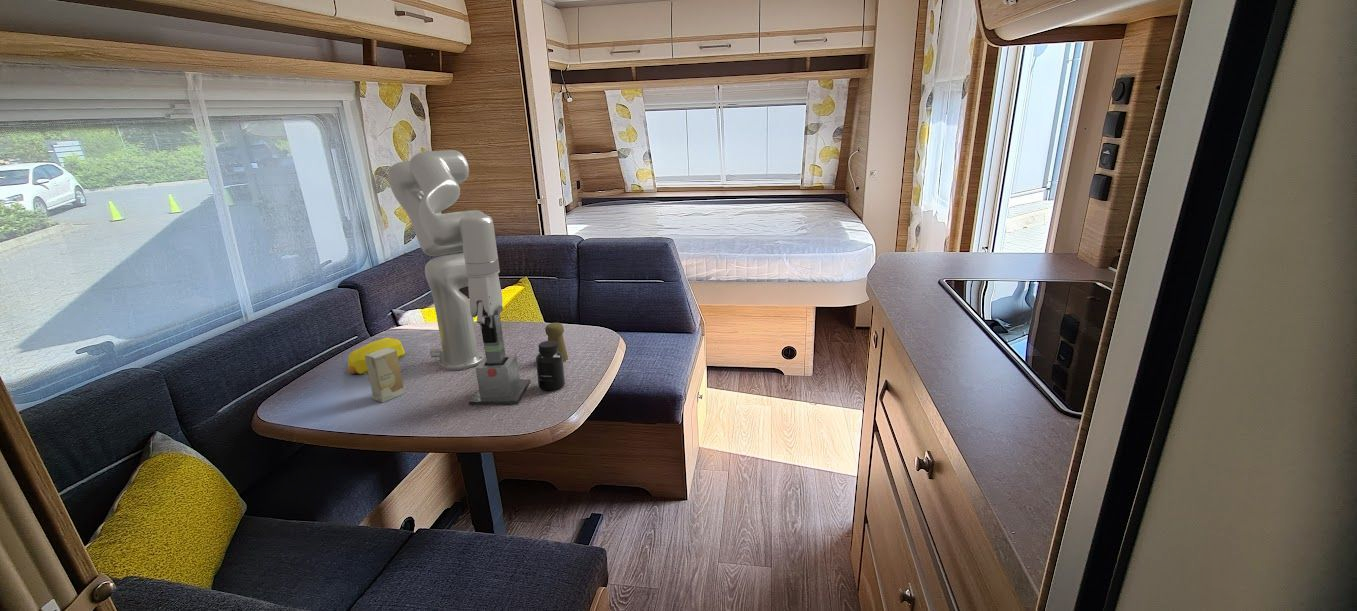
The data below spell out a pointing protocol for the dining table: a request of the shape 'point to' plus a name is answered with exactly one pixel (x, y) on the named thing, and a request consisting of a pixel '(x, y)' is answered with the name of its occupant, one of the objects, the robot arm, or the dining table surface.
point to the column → (496, 350)
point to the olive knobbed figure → (557, 337)
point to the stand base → (499, 383)
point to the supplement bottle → (550, 367)
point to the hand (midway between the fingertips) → (493, 338)
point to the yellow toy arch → (358, 356)
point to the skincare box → (384, 374)
